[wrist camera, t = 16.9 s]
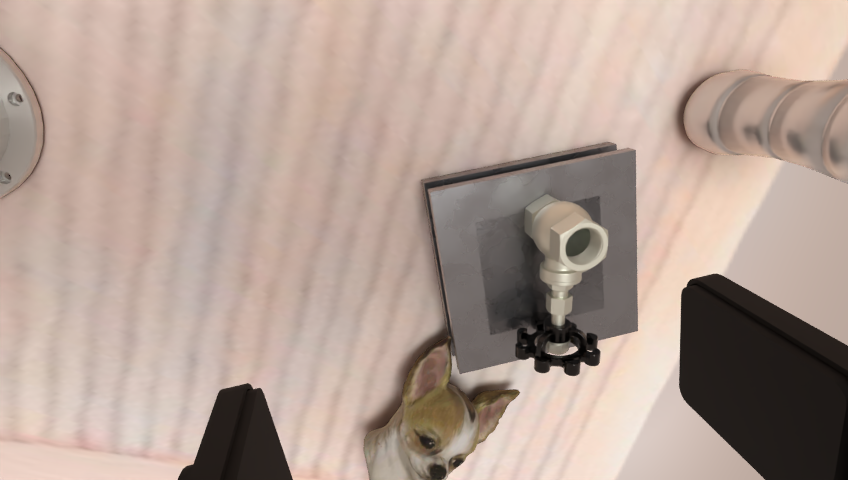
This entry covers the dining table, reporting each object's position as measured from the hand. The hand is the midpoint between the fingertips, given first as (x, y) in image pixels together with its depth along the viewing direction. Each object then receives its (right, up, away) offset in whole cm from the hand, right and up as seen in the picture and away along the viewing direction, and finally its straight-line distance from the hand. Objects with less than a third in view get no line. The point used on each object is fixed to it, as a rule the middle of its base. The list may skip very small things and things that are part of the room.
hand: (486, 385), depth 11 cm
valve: (+8, +1, +30) cm, 31 cm away
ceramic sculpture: (-1, -12, +37) cm, 39 cm away
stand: (+7, +2, +33) cm, 34 cm away
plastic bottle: (+23, +14, +32) cm, 41 cm away
